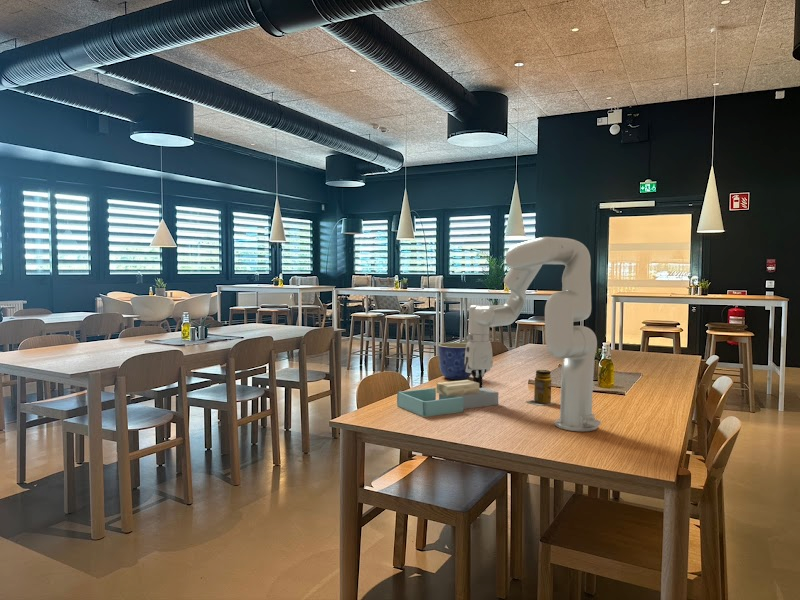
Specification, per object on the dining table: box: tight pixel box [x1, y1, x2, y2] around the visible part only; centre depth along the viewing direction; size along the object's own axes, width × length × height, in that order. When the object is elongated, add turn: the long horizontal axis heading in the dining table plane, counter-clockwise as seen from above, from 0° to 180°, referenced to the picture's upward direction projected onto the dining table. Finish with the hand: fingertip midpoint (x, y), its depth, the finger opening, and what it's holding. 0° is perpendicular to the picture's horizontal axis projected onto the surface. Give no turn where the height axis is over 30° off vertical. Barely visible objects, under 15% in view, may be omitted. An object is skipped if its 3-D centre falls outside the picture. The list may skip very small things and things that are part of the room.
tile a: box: [453, 379, 479, 394], centre depth 206 cm, size 7×7×4 cm
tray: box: [396, 387, 464, 418], centre depth 198 cm, size 18×16×5 cm
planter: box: [437, 342, 472, 381], centre depth 258 cm, size 17×17×15 cm
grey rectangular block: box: [438, 387, 499, 410], centre depth 207 cm, size 12×18×4 cm, turn 120°
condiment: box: [525, 369, 555, 406], centre depth 210 cm, size 7×8×12 cm
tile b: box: [436, 380, 464, 396], centre depth 203 cm, size 7×7×4 cm
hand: (477, 387), depth 209 cm, fingers closed
